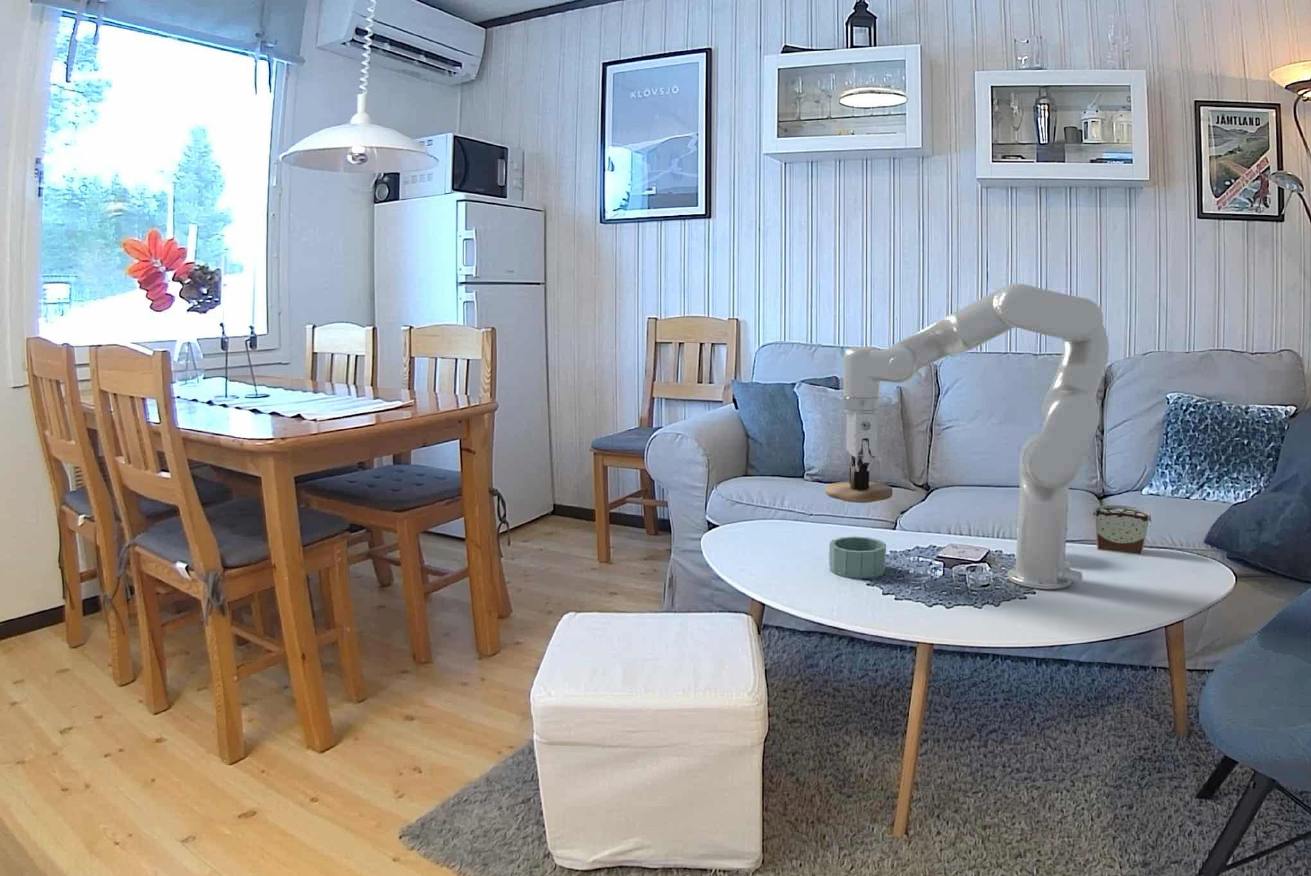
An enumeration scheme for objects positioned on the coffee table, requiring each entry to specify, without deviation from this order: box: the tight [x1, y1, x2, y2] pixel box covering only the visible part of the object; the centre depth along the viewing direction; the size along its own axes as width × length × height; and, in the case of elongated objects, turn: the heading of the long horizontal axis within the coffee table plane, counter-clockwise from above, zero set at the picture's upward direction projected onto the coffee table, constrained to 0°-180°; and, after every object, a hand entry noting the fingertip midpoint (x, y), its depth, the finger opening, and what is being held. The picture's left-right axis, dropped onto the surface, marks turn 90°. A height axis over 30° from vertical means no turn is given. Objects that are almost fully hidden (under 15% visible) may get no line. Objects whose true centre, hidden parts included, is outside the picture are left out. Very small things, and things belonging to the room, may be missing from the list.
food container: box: [1092, 504, 1152, 556], centre depth 215 cm, size 12×6×10 cm, turn 58°
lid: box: [825, 466, 894, 504], centre depth 202 cm, size 14×14×7 cm
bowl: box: [828, 536, 887, 580], centre depth 204 cm, size 12×12×6 cm
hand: (859, 486), depth 202 cm, fingers closed on lid, 3 cm apart
